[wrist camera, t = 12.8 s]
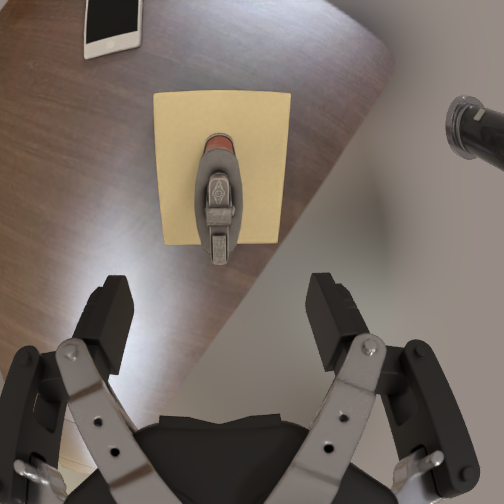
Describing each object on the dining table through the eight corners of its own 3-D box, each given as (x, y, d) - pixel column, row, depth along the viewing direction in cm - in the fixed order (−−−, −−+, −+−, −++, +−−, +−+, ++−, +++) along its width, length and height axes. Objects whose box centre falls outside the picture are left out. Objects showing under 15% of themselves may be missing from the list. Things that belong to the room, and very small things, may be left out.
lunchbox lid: (289, 93, 22) (291, 93, 22) (276, 239, 31) (277, 243, 30) (155, 93, 21) (153, 93, 20) (165, 241, 29) (164, 245, 29)
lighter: (200, 132, 23) (187, 160, 15) (238, 132, 23) (248, 160, 15) (202, 213, 27) (195, 277, 19) (236, 213, 28) (244, 276, 19)
